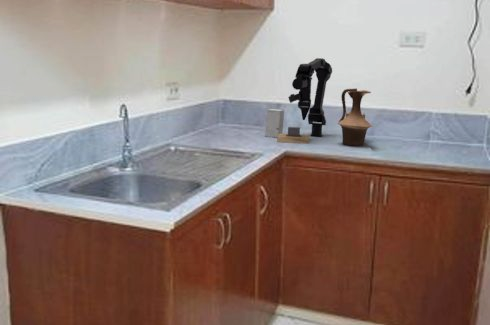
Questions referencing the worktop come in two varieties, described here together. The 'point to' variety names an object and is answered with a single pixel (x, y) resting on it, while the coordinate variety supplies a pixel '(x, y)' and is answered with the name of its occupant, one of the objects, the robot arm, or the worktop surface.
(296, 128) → the dark grey rectangular prism
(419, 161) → the worktop surface
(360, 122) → the pitcher
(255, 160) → the worktop surface
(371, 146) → the worktop surface
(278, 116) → the skincare box
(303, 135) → the post socket
